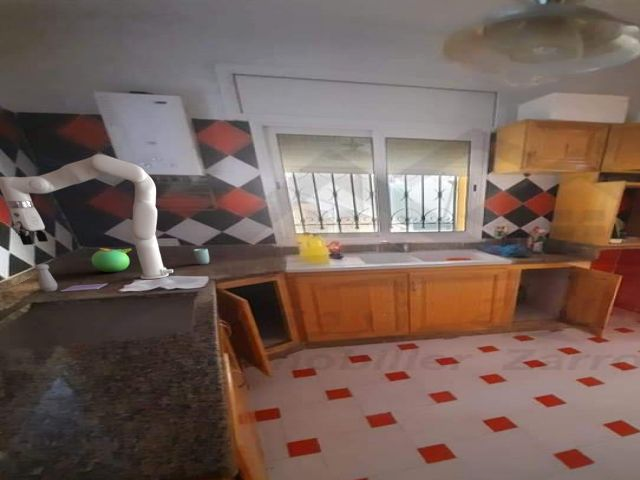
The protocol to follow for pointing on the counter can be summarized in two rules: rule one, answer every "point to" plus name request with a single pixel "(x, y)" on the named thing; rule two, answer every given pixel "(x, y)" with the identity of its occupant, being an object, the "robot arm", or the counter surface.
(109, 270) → the green round piece
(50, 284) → the salt shaker
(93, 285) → the dish towel
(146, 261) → the robot arm
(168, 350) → the counter surface
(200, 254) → the cup
